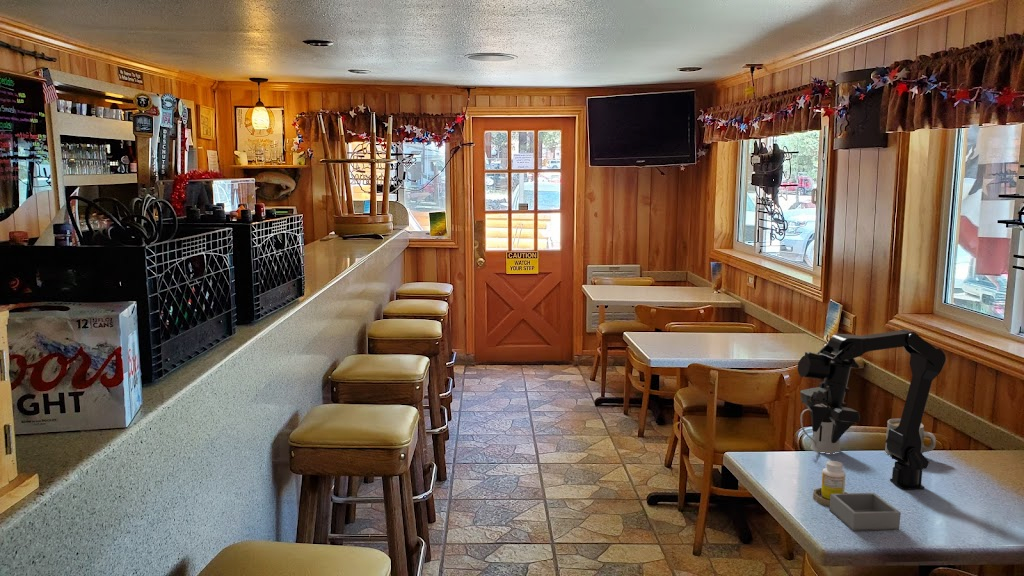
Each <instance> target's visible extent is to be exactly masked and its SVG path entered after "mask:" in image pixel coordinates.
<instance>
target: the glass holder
mask: <svg viewBox="0 0 1024 576" xmlns="http://www.w3.org/2000/svg"><path fill="white" fill-rule="evenodd" d="M807 411H809V412H810V410H809V409H808V408H806V409H804V410H802V412H801V413H800V419H799V420H800V427H801V430H802V432H803V433H804V435H806V437H808V438H809V440H811V441H812V442H811V446H810V450H811V451H813V452H815V453H818V452H825V453H830V454H833V453H835V452H840V453H841V448H840V440H841V437H840V438H839V440H838V441H837V442H836V443H832V442H831V435H832V428H833V423H832V421H831V419H830V417H832V415H831V410H829V409H828V411H827V413H826V415H825V417H824V419H823V421H822V423H821V425H820V427H819V429H818V431H817V432H814V431H813V430H812V437H811V436H810V435H809V434H808V433H807V431H806V430H805V428H804V424H803V417H804V416H803V415H804V413H805V412H807Z"/></svg>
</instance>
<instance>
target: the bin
mask: <svg viewBox="0 0 1024 576" xmlns="http://www.w3.org/2000/svg"><path fill="white" fill-rule="evenodd" d="M829 512H830V513H832V514H833V515H834V516H835V517H836V518H837V519H838V520H839V521H841V522H842V523H843V524H844V525H845V526H846V527H847V528H849V530H850V531H852V532H879V531H880V532H881V531H883V532H884V531H885V532H886V531H900V527H901V526H900V525H901V524H900V523H901V514H902V513H901V511H899V510H898V509H897V508H896V507H894V506H893V505H891V504H890V503H889V502H887V501H886V500H885V499H883V498H882V497H881V496H880V495H878V494H877V493H876V492H865V493H864V492H861V493H860V492H859V493H858V492H857V493H855V492H854V493H853V492H851V493H848V492H847V493H846V494H831V496H830V507H829Z"/></svg>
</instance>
